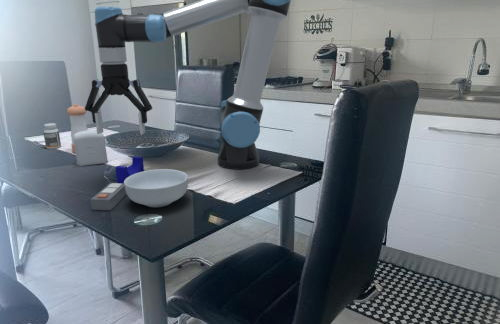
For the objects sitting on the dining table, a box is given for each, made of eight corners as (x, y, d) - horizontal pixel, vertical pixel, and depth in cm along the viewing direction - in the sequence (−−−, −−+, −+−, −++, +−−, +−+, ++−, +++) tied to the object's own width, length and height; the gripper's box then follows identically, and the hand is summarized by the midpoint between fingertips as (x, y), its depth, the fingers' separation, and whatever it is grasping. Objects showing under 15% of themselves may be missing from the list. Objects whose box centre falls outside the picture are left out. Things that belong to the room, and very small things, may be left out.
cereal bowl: (192, 190, 113) (191, 167, 111) (184, 214, 97) (183, 188, 95) (135, 190, 113) (133, 168, 111) (118, 215, 97) (115, 189, 95)
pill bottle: (51, 145, 163) (48, 122, 160) (64, 145, 162) (60, 123, 159) (43, 149, 158) (39, 125, 155) (55, 149, 157) (52, 125, 154)
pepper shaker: (74, 154, 150) (67, 106, 144) (71, 150, 155) (64, 103, 150) (93, 151, 153) (87, 104, 148) (89, 147, 159) (83, 102, 153)
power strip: (131, 189, 114) (130, 178, 113) (110, 210, 100) (109, 198, 99) (115, 189, 114) (113, 178, 113) (92, 209, 100) (90, 197, 99)
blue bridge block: (132, 173, 129) (130, 156, 127) (144, 174, 128) (142, 156, 126) (113, 185, 118) (110, 167, 116) (126, 186, 117) (124, 168, 115)
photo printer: (76, 167, 135) (72, 133, 131) (77, 163, 139) (72, 130, 135) (107, 164, 138) (103, 130, 134) (107, 160, 142) (103, 128, 138)
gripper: (158, 62, 115) (164, 130, 122) (79, 62, 117) (88, 130, 123) (151, 63, 108) (157, 136, 114) (66, 64, 110) (76, 135, 116)
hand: (121, 133), depth 119 cm, fingers open, 13 cm apart
